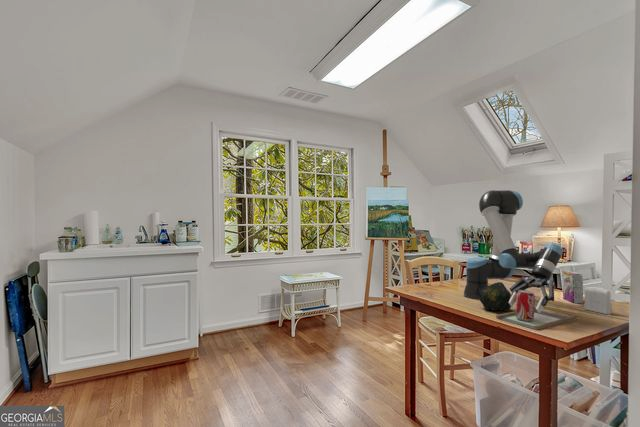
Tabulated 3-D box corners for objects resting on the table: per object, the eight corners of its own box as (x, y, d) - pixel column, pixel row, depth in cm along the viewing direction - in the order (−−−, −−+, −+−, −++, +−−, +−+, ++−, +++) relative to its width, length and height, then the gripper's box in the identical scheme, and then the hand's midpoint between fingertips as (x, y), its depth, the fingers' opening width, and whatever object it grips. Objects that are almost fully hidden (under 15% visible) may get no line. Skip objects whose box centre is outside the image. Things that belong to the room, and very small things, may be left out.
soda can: (512, 316, 150) (513, 289, 150) (528, 317, 149) (529, 290, 149) (520, 321, 143) (521, 292, 143) (537, 322, 142) (538, 293, 142)
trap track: (496, 318, 149) (496, 315, 149) (535, 309, 162) (535, 307, 162) (536, 330, 132) (536, 326, 132) (576, 319, 146) (576, 316, 146)
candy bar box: (562, 298, 185) (561, 270, 186) (571, 299, 184) (571, 270, 185) (573, 303, 174) (572, 273, 175) (583, 303, 173) (583, 274, 174)
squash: (469, 297, 167) (488, 278, 160) (483, 294, 176) (502, 276, 169) (490, 320, 158) (511, 301, 151) (503, 316, 167) (524, 298, 160)
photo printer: (612, 314, 154) (612, 288, 155) (608, 315, 153) (607, 289, 153) (587, 308, 164) (587, 284, 164) (583, 309, 162) (582, 285, 162)
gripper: (574, 280, 141) (556, 319, 134) (521, 272, 162) (502, 306, 155) (568, 269, 139) (548, 308, 132) (514, 262, 160) (495, 296, 153)
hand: (523, 307), depth 143 cm, fingers open, 11 cm apart
